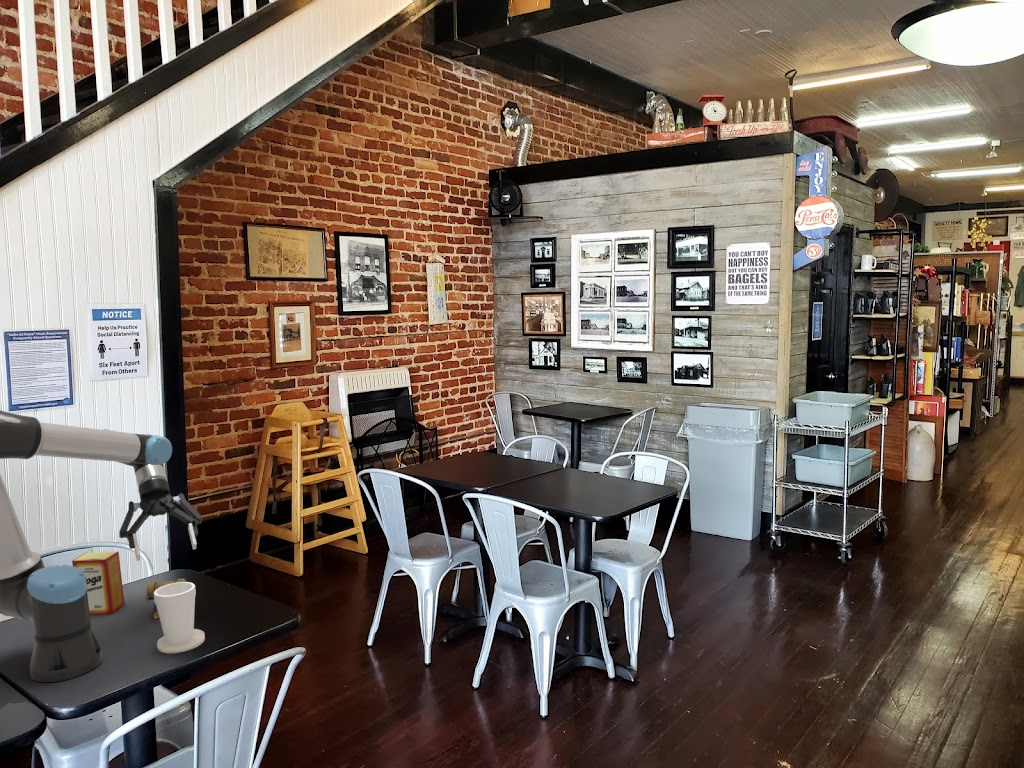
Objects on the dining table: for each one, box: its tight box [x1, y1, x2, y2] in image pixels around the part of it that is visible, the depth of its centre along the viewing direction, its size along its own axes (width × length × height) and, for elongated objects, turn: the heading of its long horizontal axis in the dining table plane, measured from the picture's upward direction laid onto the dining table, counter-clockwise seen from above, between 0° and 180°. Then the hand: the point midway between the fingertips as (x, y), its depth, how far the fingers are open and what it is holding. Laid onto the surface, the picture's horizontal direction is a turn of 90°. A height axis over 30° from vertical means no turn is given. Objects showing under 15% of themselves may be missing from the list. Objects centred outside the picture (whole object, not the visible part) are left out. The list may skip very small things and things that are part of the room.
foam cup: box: [153, 581, 197, 645], centre depth 194 cm, size 10×9×13 cm
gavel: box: [146, 578, 187, 620], centre depth 220 cm, size 21×5×10 cm
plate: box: [156, 628, 206, 654], centre depth 195 cm, size 11×11×1 cm
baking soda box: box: [71, 551, 126, 616], centre depth 218 cm, size 10×6×16 cm
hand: (167, 552), depth 203 cm, fingers open, 13 cm apart
